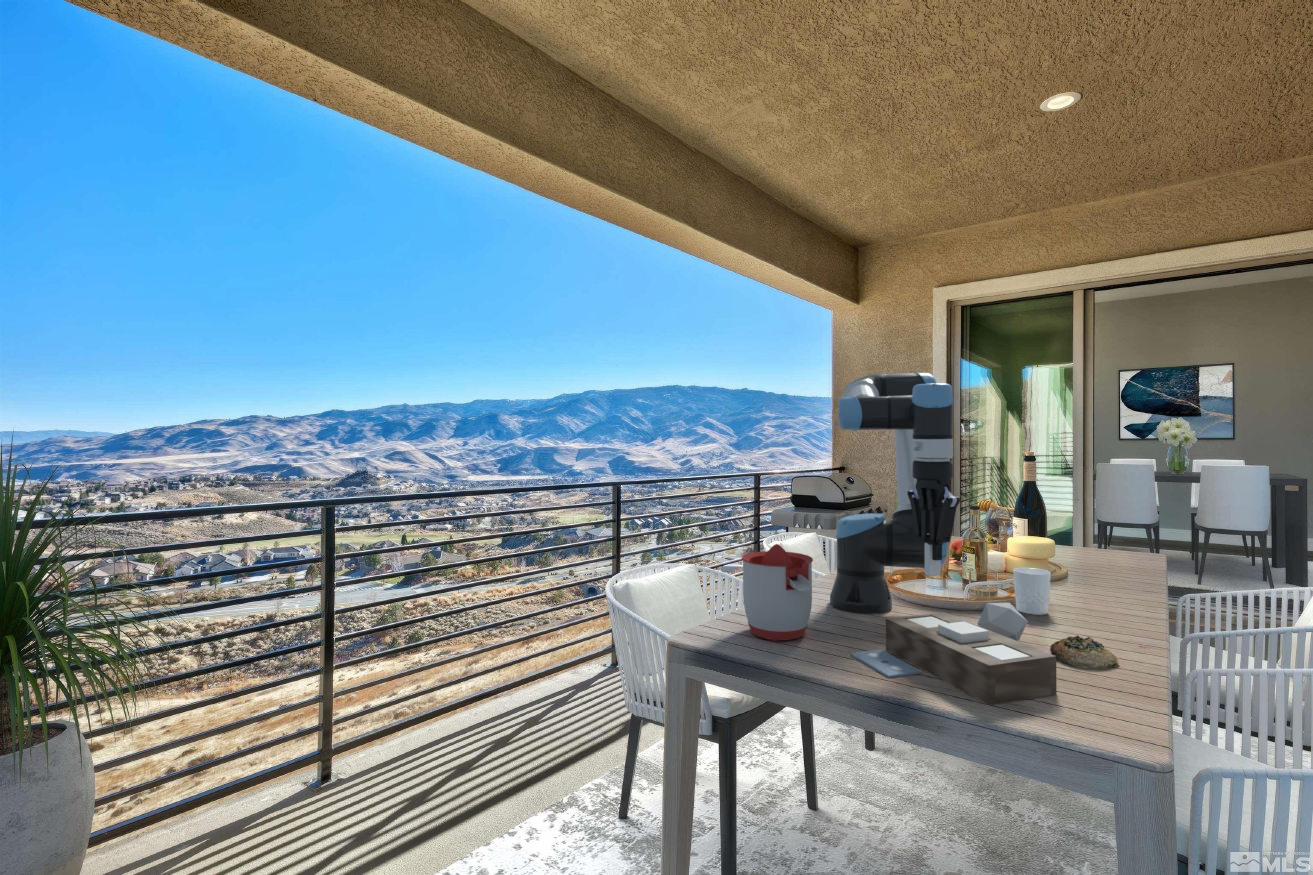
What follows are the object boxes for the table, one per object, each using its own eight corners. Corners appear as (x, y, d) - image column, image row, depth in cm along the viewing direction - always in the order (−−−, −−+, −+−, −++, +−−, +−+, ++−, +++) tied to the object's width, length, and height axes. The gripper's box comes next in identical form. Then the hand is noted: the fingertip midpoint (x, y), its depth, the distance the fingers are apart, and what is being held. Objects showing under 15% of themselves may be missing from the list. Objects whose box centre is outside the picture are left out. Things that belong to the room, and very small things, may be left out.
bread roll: (1053, 644, 130) (1057, 622, 130) (1118, 664, 123) (1123, 640, 123) (1044, 662, 122) (1048, 638, 121) (1114, 684, 115) (1118, 658, 114)
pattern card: (850, 655, 126) (850, 652, 126) (881, 651, 128) (881, 649, 128) (888, 677, 114) (888, 675, 114) (921, 673, 116) (921, 670, 116)
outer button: (974, 665, 111) (974, 648, 111) (1001, 661, 113) (1001, 644, 112) (1001, 677, 105) (1001, 659, 105) (1030, 673, 107) (1030, 656, 107)
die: (1024, 653, 128) (1040, 611, 130) (984, 631, 129) (1000, 589, 132) (1003, 654, 135) (1018, 614, 138) (965, 633, 137) (981, 594, 140)
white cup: (1058, 615, 151) (1057, 574, 151) (1025, 615, 151) (1024, 574, 151) (1038, 606, 159) (1038, 567, 158) (1007, 606, 159) (1006, 567, 158)
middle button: (938, 639, 120) (938, 624, 119) (964, 636, 121) (964, 621, 121) (961, 650, 114) (961, 634, 114) (988, 646, 115) (988, 630, 115)
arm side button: (907, 633, 128) (907, 619, 128) (931, 630, 130) (931, 616, 130) (927, 643, 122) (927, 627, 122) (953, 639, 124) (952, 624, 124)
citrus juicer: (774, 652, 128) (773, 554, 128) (729, 628, 144) (728, 541, 143) (834, 640, 135) (833, 547, 134) (784, 619, 150) (783, 535, 150)
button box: (885, 649, 129) (885, 618, 128) (942, 642, 132) (942, 612, 132) (989, 704, 103) (989, 665, 103) (1056, 694, 106) (1056, 656, 106)
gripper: (896, 458, 133) (896, 568, 133) (939, 462, 120) (939, 584, 121) (926, 457, 135) (926, 566, 135) (971, 461, 122) (971, 581, 123)
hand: (932, 574), depth 128 cm, fingers closed
